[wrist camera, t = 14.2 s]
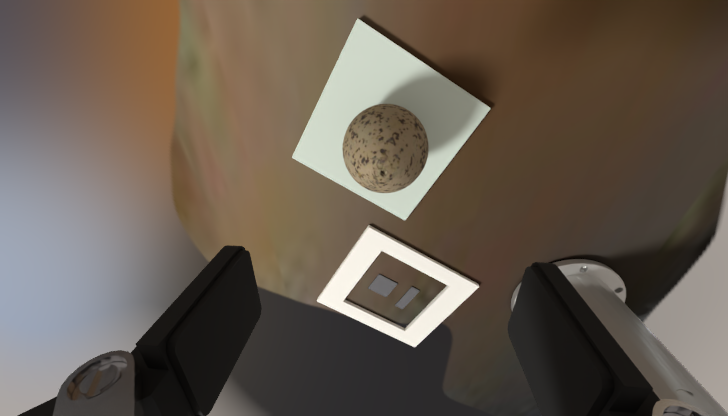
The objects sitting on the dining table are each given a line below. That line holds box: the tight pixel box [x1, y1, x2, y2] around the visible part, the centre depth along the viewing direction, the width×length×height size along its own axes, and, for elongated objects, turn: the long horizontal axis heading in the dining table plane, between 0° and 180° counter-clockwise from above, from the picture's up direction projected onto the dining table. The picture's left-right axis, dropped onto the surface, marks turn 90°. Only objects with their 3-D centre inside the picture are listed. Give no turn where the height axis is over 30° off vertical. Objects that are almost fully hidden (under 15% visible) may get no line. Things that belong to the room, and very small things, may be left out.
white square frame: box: [317, 225, 479, 347], centre depth 38 cm, size 16×14×1 cm
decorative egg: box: [342, 104, 429, 193], centre depth 24 cm, size 7×7×10 cm
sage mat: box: [292, 18, 491, 220], centre depth 29 cm, size 14×14×1 cm
